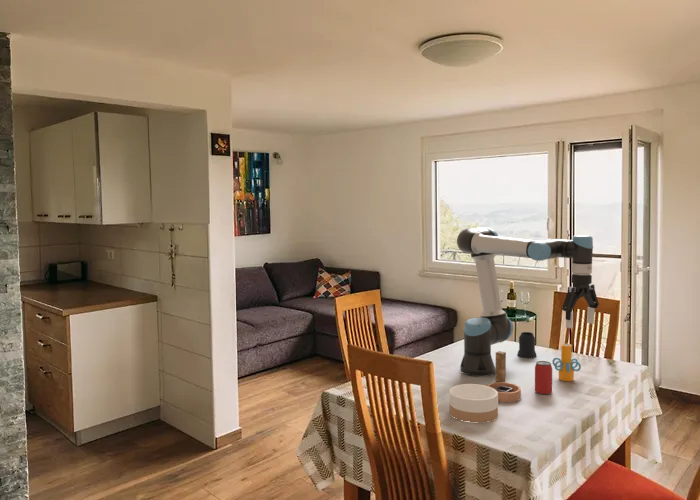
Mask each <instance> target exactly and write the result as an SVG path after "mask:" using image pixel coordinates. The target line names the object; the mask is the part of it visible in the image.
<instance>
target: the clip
mask: <svg viewBox="0 0 700 500" xmlns="http://www.w3.org/2000/svg"><path fill="white" fill-rule="evenodd" d="M495 390H496V391H498V392H508V393H509V392H513V388H510V387H505V386H499V387H497V388H495Z"/></svg>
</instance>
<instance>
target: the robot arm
mask: <svg viewBox="0 0 700 500" xmlns="http://www.w3.org/2000/svg"><path fill="white" fill-rule="evenodd" d="M593 240H594V238H593V237H592V236H591V235H587V234H585V235H582V234H579V235H578V234H576V235H573V236H572V239H562V238H547V239H546V240H535V239H534V240H533V239H526V238H525V239H524V238H515V237H504V236H499V234H498V233H497V231H496V230H494V229H493V228H490V227H487V226H485V227H484V226H482V227H481V226H480V227H469V228H465V229H463V230H462V231H460V232H459V233H458V235H457V238H456V244H457V248H458V249H459V250H460V251H461V252H462V253H464V254H468V255H470V256H471V257H470V258H471V259H473V261H474V262H475V268H476V275H477V282H478V289H479V295H480V301H481V307H482V312H481V314H480V317H472V318H470V319H467V320H466V321H465V322H464V325H463V327H464V328H463V343H464V344H463V345H464V347H463V348H464V349H463V350H464V354H463V357H462V359H461V363H460V366H459V367H460V370H459V371H460V372H461V373H462V372H463V374H465V375H468V376H473V377H474V376H476V377H485V376H492V375H493V374H495V373H496V365H495V363H494V360H493V357H492V355H491V354H492V349H491V347H492V345H495V344H498V343H503V342H505V341H507V340H508V339H509V338H511V336H512V334H513V332H514V331H513V330H514V326H513V321H512V320H511V319H510V317H507V313H506V311H505V310H503V309H502V302H501V296H500V289H499V283H498V277H497V271H496V269H497V268H496V263H495V258H496V256H497V255H499V256H500V255H501V256H502V255H503V256H509V257H510V256H511V257H518V258H526V259H531V260H533V261H540V262H541V261H545V260H552V259H557V258H563V259H571V273H572V274H571V280H570V281H571V283H572V284H573V285H572V286H568V287H567V292H566V296H565V298H564V302H563V304H562V307H561V311H563V312H565V328H568V329H574V325H573V324H574V311H573V309H574V307H575V306H576V304H577V302H578V301H579V299H581V298H584V301H585V302H586V303H587V306H588V307H587V311H586V312H587V313H586V314H587V316H586V318H587V319H586V323H588V324H591V325H593V324H595V314H596V313H595V312H596V309H598V307H599V304H600V303H599V300H598V296H597V293H596V289H595V284H593V282H592V280H593V278H592V277H593V275H592V273H593V249H594V245H593V244H594V241H593Z"/></svg>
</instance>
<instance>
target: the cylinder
mask: <svg viewBox="0 0 700 500" xmlns="http://www.w3.org/2000/svg"><path fill="white" fill-rule="evenodd" d="M572 345H573V344H571V343H562V344H561V351H560V352H561V357H560V358H561V359H560V358H559V357H554V358H553V359H552V362H551V364H552V365H553V366H554V369H555V370H556V371H558V380H560V381H561V382H562V381H563V382H573V381H574V380H575V379H574V377H575V374H574V373H575V372H579V371H581V368H582V367H581V364H580V362H579V361H578V359H577V358H572V356H573V355H572V352H573V351H572V349H573V348H572V347H573V346H572ZM556 360H557V361H556ZM555 361H556V362H555ZM558 364H559V365H558ZM574 364H575V365H574ZM573 365H574V366H573ZM577 367H578V368H577Z"/></svg>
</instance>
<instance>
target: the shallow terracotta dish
mask: <svg viewBox="0 0 700 500" xmlns="http://www.w3.org/2000/svg"><path fill="white" fill-rule="evenodd" d="M486 386H488V387H491V388H493V389H495V388H497V387H499V386H505V387H510V388H513V392H509V393H508V392H498V391H497V392H498V402H499V401H500V402H499V403H501V402H502V403H513V402H518V401H519V400H521V399H522V395H521V394H522V391H521V386H520V385H517V384H516V383H510V382H496V381H495V382H490V383H489V384H487V385H486Z"/></svg>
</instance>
